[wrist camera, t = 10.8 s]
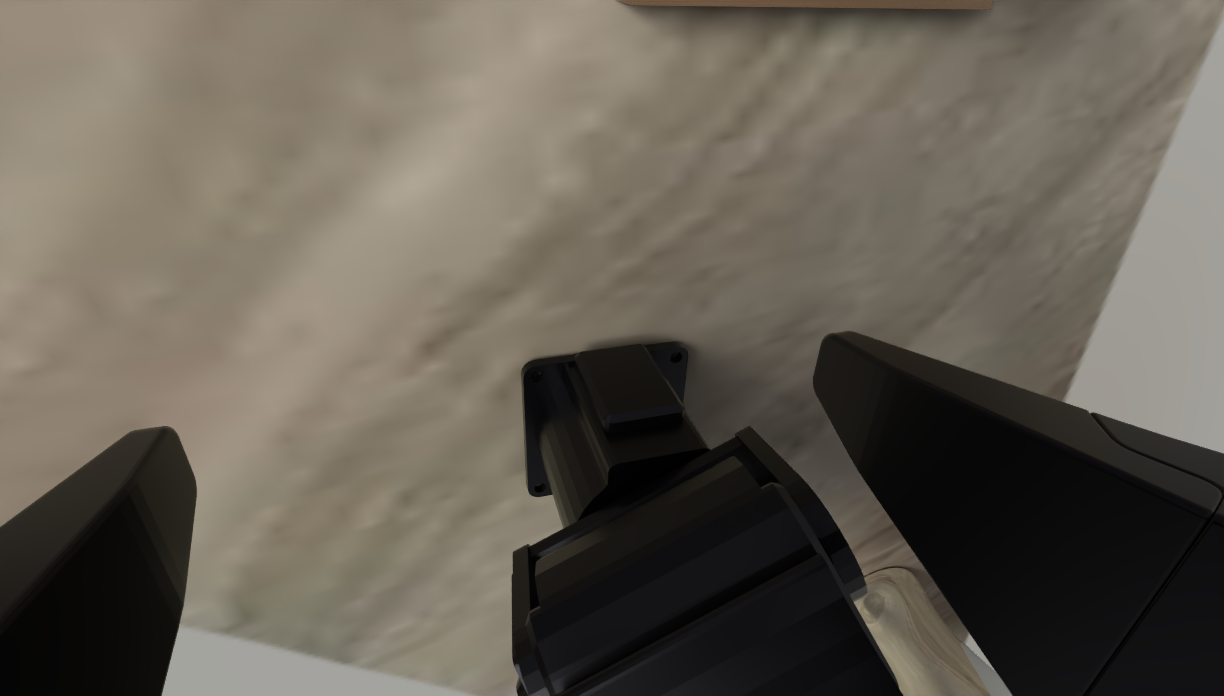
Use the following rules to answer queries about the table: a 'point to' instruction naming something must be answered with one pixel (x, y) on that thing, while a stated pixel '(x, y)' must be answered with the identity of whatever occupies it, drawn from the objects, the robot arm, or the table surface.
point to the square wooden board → (826, 3)
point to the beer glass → (921, 641)
